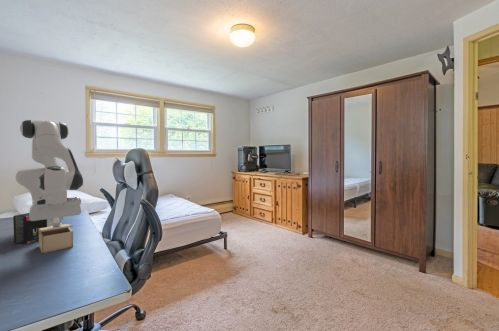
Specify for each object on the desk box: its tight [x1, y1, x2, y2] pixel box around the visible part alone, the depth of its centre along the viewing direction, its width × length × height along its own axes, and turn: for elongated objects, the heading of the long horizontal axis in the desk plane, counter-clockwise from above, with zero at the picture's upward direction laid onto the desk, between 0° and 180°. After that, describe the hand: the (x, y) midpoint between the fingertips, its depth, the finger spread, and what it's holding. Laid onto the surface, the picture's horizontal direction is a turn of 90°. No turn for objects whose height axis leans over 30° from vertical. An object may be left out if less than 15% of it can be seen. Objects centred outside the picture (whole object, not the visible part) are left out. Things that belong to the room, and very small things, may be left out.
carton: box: [38, 227, 74, 254], centre depth 123 cm, size 14×12×8 cm
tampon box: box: [13, 212, 47, 245], centre depth 133 cm, size 11×9×15 cm
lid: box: [39, 223, 73, 232], centre depth 124 cm, size 14×12×1 cm
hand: (56, 226), depth 121 cm, fingers closed, pressing on lid
